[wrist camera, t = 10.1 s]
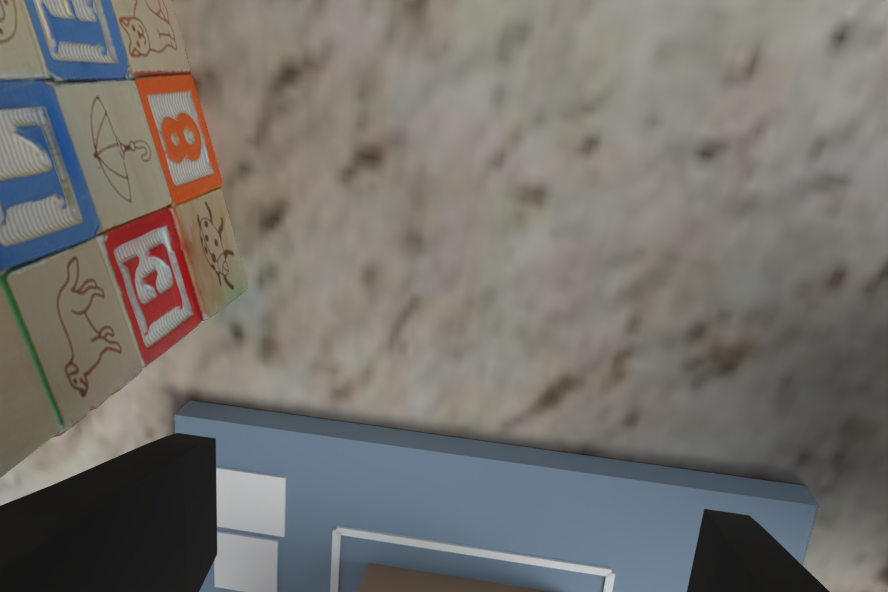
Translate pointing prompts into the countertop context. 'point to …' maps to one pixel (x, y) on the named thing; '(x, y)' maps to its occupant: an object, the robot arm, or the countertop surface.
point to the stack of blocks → (99, 208)
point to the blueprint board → (456, 511)
